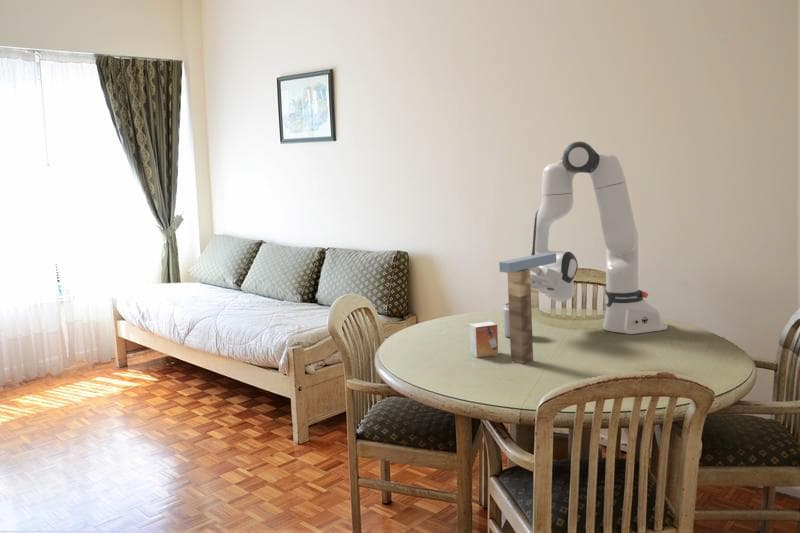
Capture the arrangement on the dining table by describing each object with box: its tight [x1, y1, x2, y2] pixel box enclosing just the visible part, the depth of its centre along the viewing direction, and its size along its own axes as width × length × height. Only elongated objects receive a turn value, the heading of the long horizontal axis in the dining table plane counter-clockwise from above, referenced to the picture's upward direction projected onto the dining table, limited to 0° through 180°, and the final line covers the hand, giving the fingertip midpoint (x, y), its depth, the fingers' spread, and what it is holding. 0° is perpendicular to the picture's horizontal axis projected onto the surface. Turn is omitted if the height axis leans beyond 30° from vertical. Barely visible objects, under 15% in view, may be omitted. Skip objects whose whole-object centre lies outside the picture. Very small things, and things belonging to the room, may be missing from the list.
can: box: [502, 302, 510, 338], centre depth 263 cm, size 8×8×12 cm
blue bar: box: [498, 252, 556, 274], centre depth 232 cm, size 22×4×3 cm, turn 127°
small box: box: [469, 320, 499, 358], centre depth 243 cm, size 8×6×10 cm
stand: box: [507, 269, 534, 365], centre depth 232 cm, size 5×5×30 cm
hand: (518, 264), depth 252 cm, fingers open, 8 cm apart
